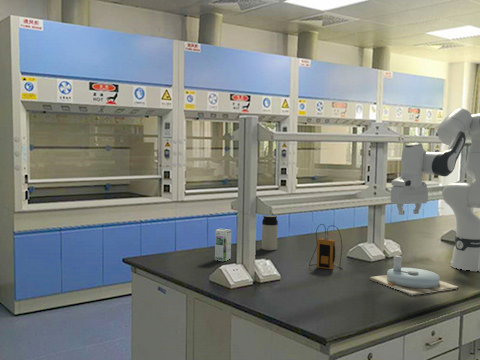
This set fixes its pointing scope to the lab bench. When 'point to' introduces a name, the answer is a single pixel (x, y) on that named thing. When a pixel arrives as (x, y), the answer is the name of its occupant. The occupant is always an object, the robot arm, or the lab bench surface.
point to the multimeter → (326, 252)
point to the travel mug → (269, 233)
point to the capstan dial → (411, 276)
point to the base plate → (411, 290)
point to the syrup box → (222, 244)
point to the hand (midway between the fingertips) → (408, 214)
